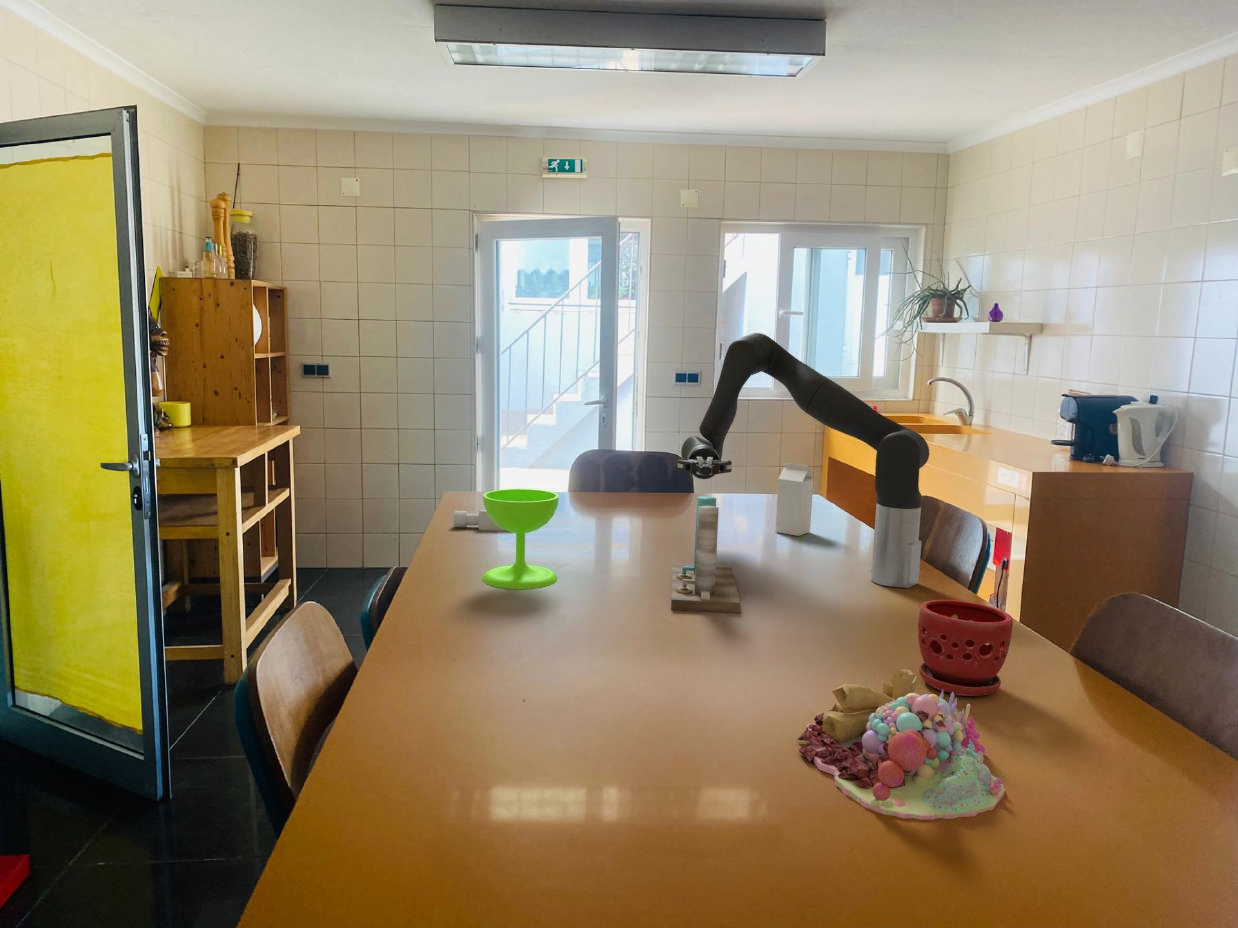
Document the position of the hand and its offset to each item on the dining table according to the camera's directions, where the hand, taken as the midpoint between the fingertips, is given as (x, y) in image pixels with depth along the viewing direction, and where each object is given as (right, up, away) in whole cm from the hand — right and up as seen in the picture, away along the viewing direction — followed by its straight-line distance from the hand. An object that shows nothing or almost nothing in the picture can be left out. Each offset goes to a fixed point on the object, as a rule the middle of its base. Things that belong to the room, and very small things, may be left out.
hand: (705, 471), depth 189 cm
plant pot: (+33, -32, -57) cm, 74 cm away
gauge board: (-2, -25, -12) cm, 27 cm away
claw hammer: (-53, -15, +55) cm, 78 cm away
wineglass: (-40, -23, -5) cm, 47 cm away
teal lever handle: (-3, -22, -9) cm, 23 cm away
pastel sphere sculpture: (+16, -36, -82) cm, 91 cm away
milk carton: (+29, -18, +48) cm, 59 cm away
